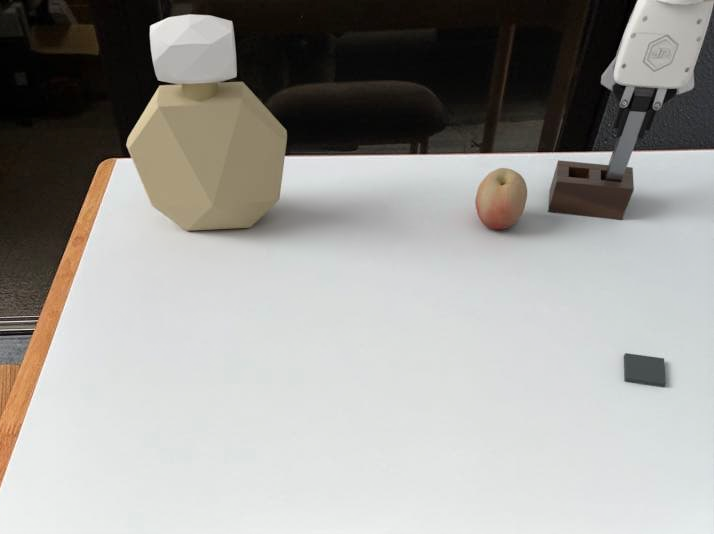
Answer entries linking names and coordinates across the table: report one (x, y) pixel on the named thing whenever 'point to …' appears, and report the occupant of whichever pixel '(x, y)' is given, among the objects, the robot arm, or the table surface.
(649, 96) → the grey square peg
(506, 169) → the fruit
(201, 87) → the perfume bottle
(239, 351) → the table surface
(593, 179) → the holder
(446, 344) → the table surface
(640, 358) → the mat
